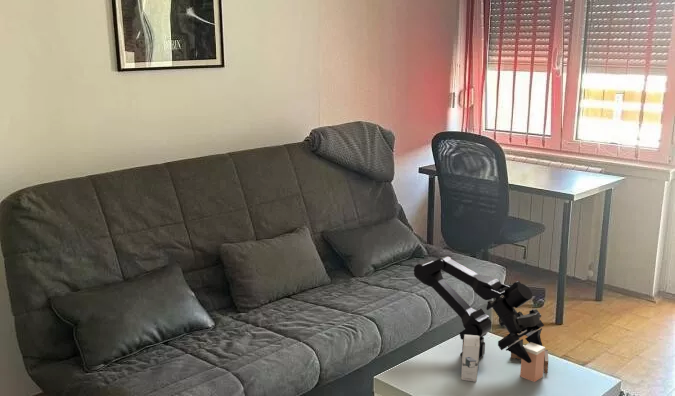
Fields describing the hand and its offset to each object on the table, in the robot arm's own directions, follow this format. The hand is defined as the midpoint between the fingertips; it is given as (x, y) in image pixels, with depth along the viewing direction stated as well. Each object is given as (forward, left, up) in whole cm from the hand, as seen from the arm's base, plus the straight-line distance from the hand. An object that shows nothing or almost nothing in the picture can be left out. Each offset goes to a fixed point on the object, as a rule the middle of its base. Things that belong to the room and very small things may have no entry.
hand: (537, 358), depth 206 cm
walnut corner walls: (-4, +8, -7) cm, 11 cm away
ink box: (-18, -9, -7) cm, 21 cm away
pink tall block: (-1, 0, -7) cm, 7 cm away
